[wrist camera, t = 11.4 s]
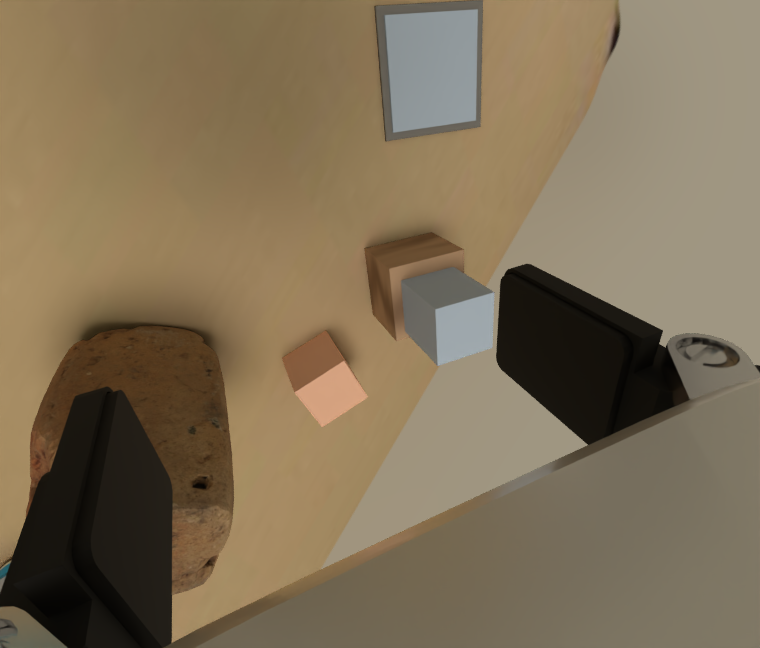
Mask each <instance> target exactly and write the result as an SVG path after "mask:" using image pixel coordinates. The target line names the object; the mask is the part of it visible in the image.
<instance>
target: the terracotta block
mask: <svg viewBox="0 0 760 648" xmlns="http://www.w3.org/2000/svg"><path fill="white" fill-rule="evenodd" d="M282 359H283V362H284V365H285V368H286V370H287V373H288V376H289V379H290V381H291V384H292V387H293V390H294V392H295V394H296V395H297V396H298V397H299V399H300V400H301V401H302V402H303V404H304V405H305V406H306V407H307V409H308V410H309V411H310V412H311V414H312V415H313V416H314V417H315V419H316V420H317V421H318V423H319V424H320V425H321V426H322V427H323V426H325V425H326V424H328V423H329V422H331V421H332V420H334V419H336V418H337V417H339V416H340V415H342V414H343V413H345V412H346V411H348V410H349V409H351V408H352V407H354V406H355V405H357V404H358V403H360V402H362V401H363V400H365V399H366V398H368V396H367V395H366V393H365V391H364V390H363V388H362V386H361V385H360V383H359V381H358V380H357V378H356V377H355V375H354V373H353V372H352V370H351V368H350V367H349V365H348V363H347V362H346V360H345V359H344V357H343V356H342V354H341V353H340V351H339V350H338V348H337V347H336V345H335V343H334V342H333V340H332V339H331V337H330V336H329V334H328V333H327V331H324V332H322V333H321V334H319V335H318V336H316V337H314V338H313V339H311V340H310V341H308V342H306V343H305V344H303V345H302V346H300V347H299V348H297V349H295V350H294V351H292V352H291V353H289V354H287V355H286V356H284V357H283V358H282Z"/></svg>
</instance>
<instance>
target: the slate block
mask: <svg viewBox="0 0 760 648" xmlns="http://www.w3.org/2000/svg"><path fill="white" fill-rule="evenodd" d="M401 288H402V300H403V312H404V323H405V332H406V333H407V334H408V335H409V336H410V337H411V338H412V339H413V340H414V341H415V343H416V344H417V345H418V346H419V347H420V348H421V349H422V350H423V351H424V352H425V353H426V354H427V355H428V356H429V357H430V358H431V359H432V360H433V361H434V363H435V364H436V365H437V366H439V365H442V364H445V363H448V362H451V361H454V360H457V359H460V358H463V357H466V356H469V355H472V354H475V353H478V352H481V351H484V350H487V349H489V348H492V339H493V314H494V292H493V291H492V290H490V289H488V288H487V287H485V286H483V285H482V284H480V283H479V282H477V281H475V280H474V279H472V278H471V277H469V276H467V275H466V274H464V273H463V272H461V271H459V270H458V269H456V268H454V267H450V268H447V269H443V270H439V271H435V272H431V273H428V274H424V275H420V276H416V277H412V278H409V279H405V280H401Z"/></svg>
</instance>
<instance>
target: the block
mask: <svg viewBox="0 0 760 648" xmlns="http://www.w3.org/2000/svg"><path fill="white" fill-rule="evenodd" d="M106 386H108V387H110V388H111V389H112V390H113V392H114V391H117V390H122V391H123V392H124V393H125V395H126V397H127V398H128V400H129V402H130V404H131V406H132V408H133V410H134V411H135V413H136V415H137V417H138V419H139V421H140V423H141V425H142V426H143V428H144V430H145V432H146V434H147V436H148V438H149V439H150V441H151V443H152V445H153V447H154V449H155V451H156V452H157V454H158V456H159V458H160V460H161V462H162V464H163V466H164V467H165V469H166V471H167V473H168V475H169V477H170V480H171V484H172V490H173V516H172V595H174V594H177V593H181V592H184V591H188V590H190V589H193V588H195V587H197V586H200V585H202V584H204V583H205V581H206V580H207V579H208V578H209V577H210V575H211V574H212V571H213V568H214V566H215V563H216V561H217V559H218V556H219V553H220V552H221V551H222V549H223V547H224V545H225V543H226V541H227V539H228V537H229V533H230V529H231V525H232V518H233V504H234V481H233V468H232V451H231V442H230V433H229V424H228V414H227V406H226V397H225V390H224V382H223V377H222V372H221V369H220V364H219V360H218V357H217V355H216V353H215V351H214V350H212V349H211V348H210V347H209V346H207V345H205V344H204V340H203V338H202V337H201V336H199V335H198V334H196V333H194V332H192V331H188V330H185V329H179V328H171V327H163V326H139V327H136V328H133V329H130V330H129V329H116V330H110V331H106V332H102V333H98V334H97V335H95V336H94V337H93V338H91V339H89V340H81V341H79V342H77V343H76V344H74V345H73V346H72V347H71V348H70V349H69V351H68V352H67V354H66V355H65V357H64V359H63V360H62V362H61V363H60V365H59V367H58V369H57V371H56V373H55V375H54V376H53V378H52V381H51V383H50V385H49V387H48V389H47V392H46V394H45V396H44V398H43V400H42V402H41V405H40V408H39V410H38V413H37V416H36V418H35V421H34V424H33V428H32V432H31V442H30V477H31V479H32V480H31V487H30V495H29V503H28V506H27V510H26V517H27V514H28V511H29V508H30V505H31V502H32V499H33V497H34V494H35V491H36V488H37V485H38V483H39V481H40V479H41V477H42V476H43V475H44V474H45V473H47V472H50V470H51V467H52V464H53V461H54V457H55V454H56V451H57V448H58V445H59V442H60V439H61V436H62V433H63V430H64V427H65V424H66V421H67V418H68V415H69V412H70V409H71V405H72V402H73V399H74V397H75V396H76V395H79V394H82V393H86V392H89V391H93V390H96V389H100V388H103V387H106Z"/></svg>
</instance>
